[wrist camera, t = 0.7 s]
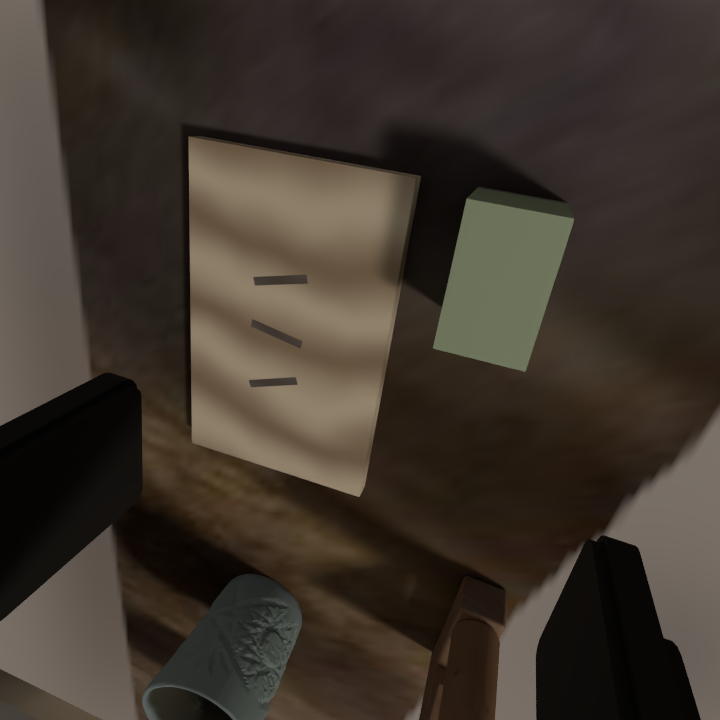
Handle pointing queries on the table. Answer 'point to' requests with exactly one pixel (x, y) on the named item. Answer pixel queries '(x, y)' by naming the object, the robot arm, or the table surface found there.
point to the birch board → (293, 305)
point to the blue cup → (229, 656)
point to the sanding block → (502, 275)
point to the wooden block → (467, 656)
